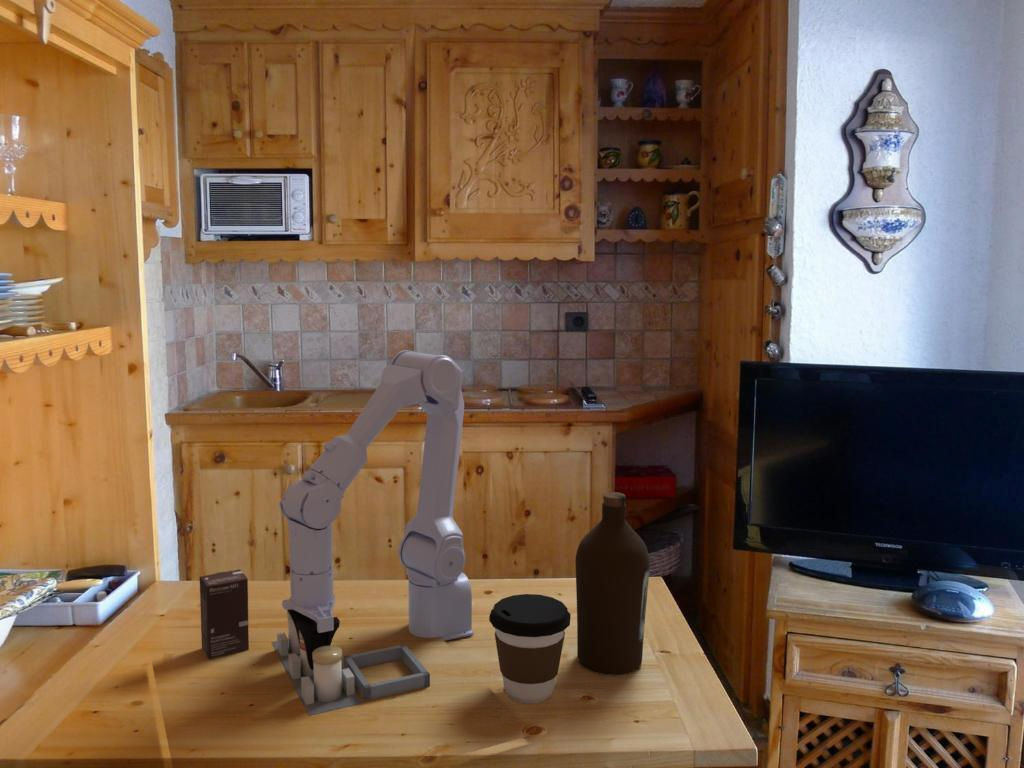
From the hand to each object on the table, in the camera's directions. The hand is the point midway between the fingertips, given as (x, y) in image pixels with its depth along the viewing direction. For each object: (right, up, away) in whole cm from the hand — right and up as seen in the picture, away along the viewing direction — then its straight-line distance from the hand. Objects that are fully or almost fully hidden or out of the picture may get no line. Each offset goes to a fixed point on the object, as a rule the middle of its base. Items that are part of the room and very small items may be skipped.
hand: (313, 660), depth 121 cm
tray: (+10, -3, -1) cm, 11 cm away
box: (-14, -1, +6) cm, 16 cm away
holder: (0, -2, 0) cm, 2 cm away
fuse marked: (0, -1, 0) cm, 1 cm away
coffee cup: (+30, -3, -3) cm, 30 cm away
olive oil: (+42, -2, +6) cm, 42 cm away
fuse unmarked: (+3, -2, -6) cm, 8 cm away
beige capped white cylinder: (-3, 0, +7) cm, 8 cm away
